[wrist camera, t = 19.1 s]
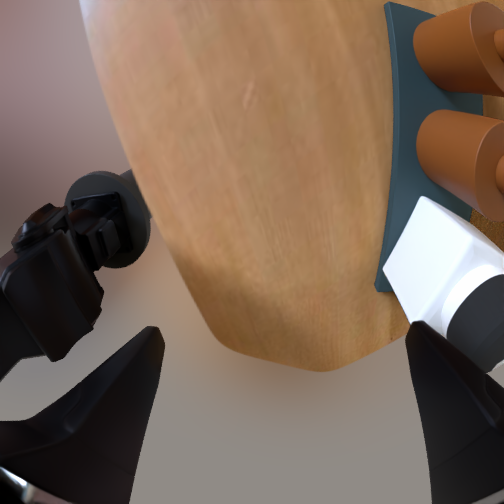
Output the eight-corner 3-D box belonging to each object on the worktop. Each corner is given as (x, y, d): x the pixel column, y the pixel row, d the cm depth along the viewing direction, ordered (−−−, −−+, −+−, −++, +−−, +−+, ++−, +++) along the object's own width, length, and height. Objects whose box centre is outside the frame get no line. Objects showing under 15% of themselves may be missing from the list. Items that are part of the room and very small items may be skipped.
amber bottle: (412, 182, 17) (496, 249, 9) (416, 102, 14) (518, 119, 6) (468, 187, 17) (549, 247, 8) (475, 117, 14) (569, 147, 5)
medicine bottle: (380, 269, 21) (434, 390, 11) (419, 193, 17) (522, 288, 7) (435, 287, 22) (490, 387, 11) (472, 224, 18) (555, 310, 8)
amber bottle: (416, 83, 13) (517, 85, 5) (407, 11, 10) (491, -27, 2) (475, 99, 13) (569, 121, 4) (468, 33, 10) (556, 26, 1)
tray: (374, 285, 23) (377, 292, 22) (383, 4, 11) (388, 1, 10) (446, 280, 22) (450, 286, 21) (469, 33, 10) (476, 32, 10)
